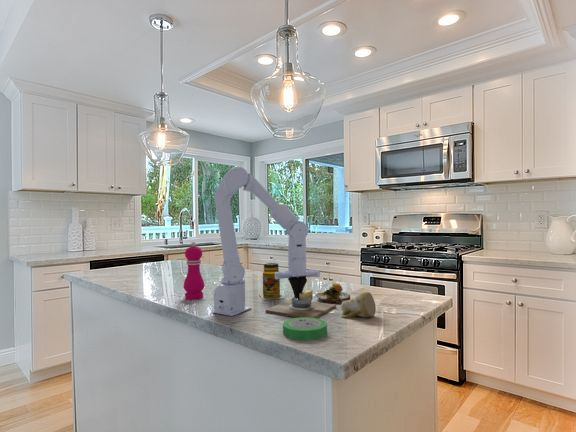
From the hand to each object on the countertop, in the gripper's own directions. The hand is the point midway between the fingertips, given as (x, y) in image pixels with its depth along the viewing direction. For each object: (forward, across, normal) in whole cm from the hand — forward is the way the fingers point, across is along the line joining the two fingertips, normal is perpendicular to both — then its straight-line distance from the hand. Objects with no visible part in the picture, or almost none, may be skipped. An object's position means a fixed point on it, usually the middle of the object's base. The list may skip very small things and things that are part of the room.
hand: (297, 300), depth 118 cm
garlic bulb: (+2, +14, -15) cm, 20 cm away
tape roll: (+2, -5, -25) cm, 26 cm away
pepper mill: (+2, -33, +21) cm, 39 cm away
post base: (+2, 0, -5) cm, 5 cm away
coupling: (0, +1, -4) cm, 4 cm away
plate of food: (+2, +14, +5) cm, 15 cm away
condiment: (+2, -6, +15) cm, 16 cm away
